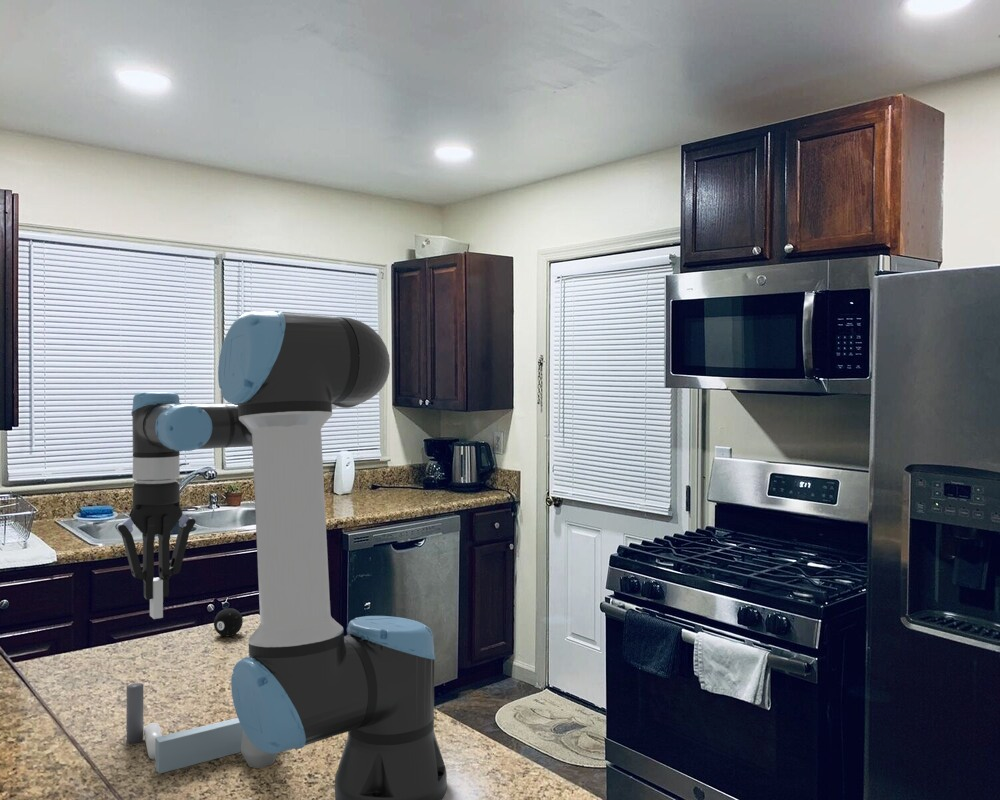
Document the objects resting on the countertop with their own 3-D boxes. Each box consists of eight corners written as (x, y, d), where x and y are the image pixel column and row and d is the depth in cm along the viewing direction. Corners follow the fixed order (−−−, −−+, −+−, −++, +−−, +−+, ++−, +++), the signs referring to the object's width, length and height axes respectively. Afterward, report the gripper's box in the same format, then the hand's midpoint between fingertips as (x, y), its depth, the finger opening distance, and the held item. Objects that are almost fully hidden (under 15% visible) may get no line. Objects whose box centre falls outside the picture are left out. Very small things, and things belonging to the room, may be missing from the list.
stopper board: (280, 741, 125) (280, 712, 125) (159, 773, 114) (159, 742, 114) (275, 736, 127) (275, 708, 127) (155, 768, 116) (155, 737, 116)
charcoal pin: (145, 740, 125) (145, 686, 125) (128, 744, 124) (128, 689, 124) (141, 735, 127) (141, 682, 127) (125, 739, 126) (124, 685, 126)
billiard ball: (247, 632, 182) (247, 606, 182) (232, 640, 176) (232, 613, 176) (224, 630, 184) (224, 604, 184) (208, 638, 178) (208, 611, 178)
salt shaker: (269, 772, 115) (269, 682, 115) (233, 768, 116) (233, 679, 116) (288, 754, 120) (288, 668, 120) (253, 751, 122) (253, 665, 121)
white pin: (145, 740, 126) (150, 762, 119) (142, 726, 126) (146, 747, 118) (161, 734, 127) (167, 755, 120) (158, 720, 127) (163, 740, 119)
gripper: (188, 476, 146) (188, 606, 146) (110, 481, 138) (110, 618, 139) (201, 480, 140) (201, 615, 140) (120, 485, 132) (120, 628, 133)
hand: (156, 616), depth 140 cm, fingers closed
